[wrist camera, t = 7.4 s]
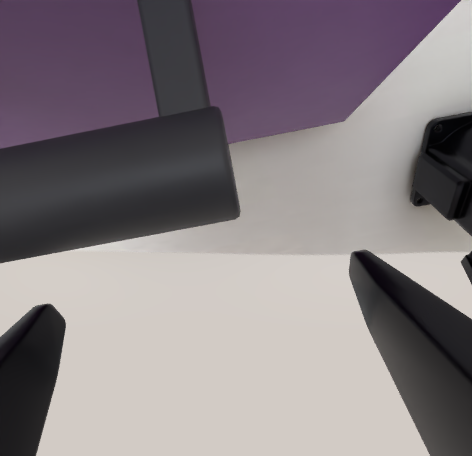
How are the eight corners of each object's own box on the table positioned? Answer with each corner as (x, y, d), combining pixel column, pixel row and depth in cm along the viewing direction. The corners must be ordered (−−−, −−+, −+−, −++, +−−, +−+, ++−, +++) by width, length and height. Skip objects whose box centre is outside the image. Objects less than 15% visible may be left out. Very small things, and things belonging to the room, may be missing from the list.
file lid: (-1056, -41, 3) (-950, 436, 3) (893, -542, 2) (987, 74, 2) (8, 175, 15) (25, 262, 15) (342, 109, 15) (358, 200, 15)
